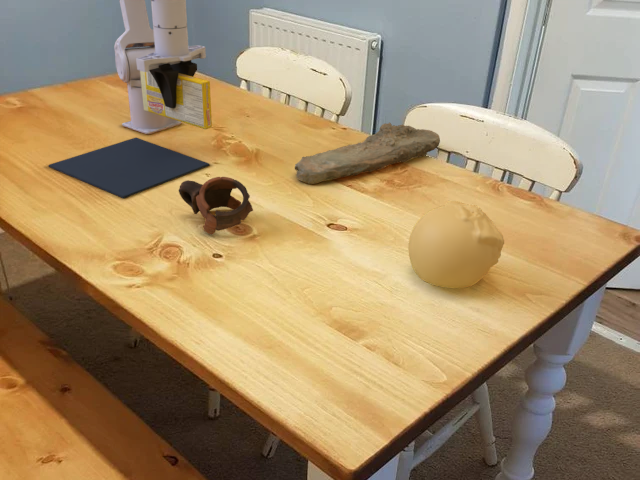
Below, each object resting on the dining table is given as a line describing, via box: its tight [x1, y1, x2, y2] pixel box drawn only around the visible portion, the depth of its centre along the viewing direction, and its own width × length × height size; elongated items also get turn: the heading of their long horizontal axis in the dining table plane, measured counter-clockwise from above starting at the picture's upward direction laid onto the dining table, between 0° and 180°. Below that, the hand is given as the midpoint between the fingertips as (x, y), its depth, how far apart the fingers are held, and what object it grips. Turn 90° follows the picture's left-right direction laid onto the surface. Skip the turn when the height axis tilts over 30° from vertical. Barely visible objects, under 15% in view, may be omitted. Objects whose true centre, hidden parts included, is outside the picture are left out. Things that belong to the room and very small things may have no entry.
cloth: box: [48, 137, 210, 199], centre depth 124 cm, size 20×20×1 cm
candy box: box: [140, 71, 213, 131], centre depth 124 cm, size 16×2×8 cm, turn 54°
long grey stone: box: [294, 122, 441, 185], centre depth 130 cm, size 35×5×10 cm
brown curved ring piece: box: [178, 176, 254, 236], centre depth 106 cm, size 12×10×8 cm
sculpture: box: [407, 200, 505, 289], centre depth 94 cm, size 12×12×11 cm
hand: (175, 105), depth 125 cm, fingers closed on candy box, 2 cm apart
